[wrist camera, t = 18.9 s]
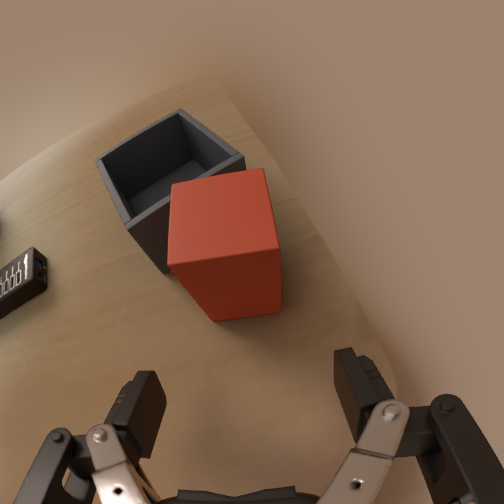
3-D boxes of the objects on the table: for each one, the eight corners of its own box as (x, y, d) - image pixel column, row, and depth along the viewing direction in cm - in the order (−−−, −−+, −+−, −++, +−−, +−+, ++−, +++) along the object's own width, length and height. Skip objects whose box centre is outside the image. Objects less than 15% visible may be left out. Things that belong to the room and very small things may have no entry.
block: (281, 312, 20) (280, 248, 12) (212, 322, 20) (166, 265, 12) (271, 251, 22) (263, 167, 14) (208, 261, 22) (171, 183, 15)
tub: (253, 212, 24) (244, 156, 19) (163, 274, 22) (127, 230, 17) (196, 157, 29) (180, 108, 23) (123, 203, 27) (94, 159, 21)
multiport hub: (-19, 301, 23) (-31, 294, 21) (46, 255, 25) (33, 244, 23) (-20, 332, 21) (-33, 325, 19) (47, 289, 23) (33, 279, 21)
